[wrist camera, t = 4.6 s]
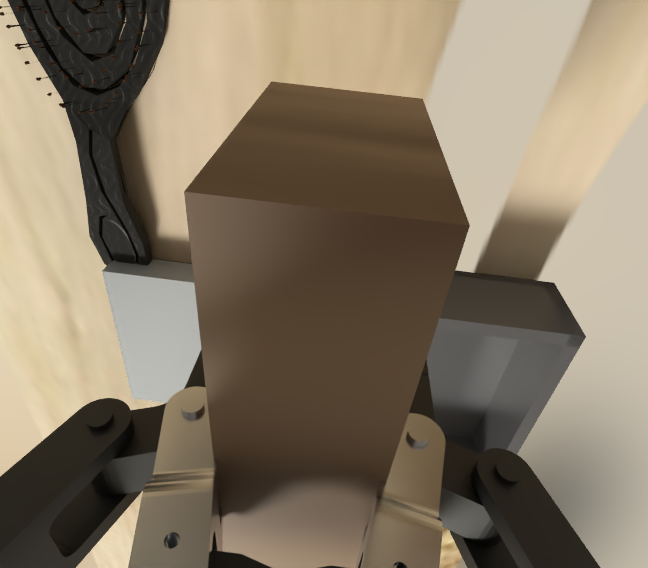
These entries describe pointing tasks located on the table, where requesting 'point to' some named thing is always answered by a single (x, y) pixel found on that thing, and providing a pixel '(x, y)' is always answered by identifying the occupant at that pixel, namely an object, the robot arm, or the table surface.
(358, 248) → the brown wooden block
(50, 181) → the table surface
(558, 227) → the table surface
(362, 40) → the table surface
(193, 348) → the board
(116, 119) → the hairbrush
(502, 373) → the tray
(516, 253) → the table surface
